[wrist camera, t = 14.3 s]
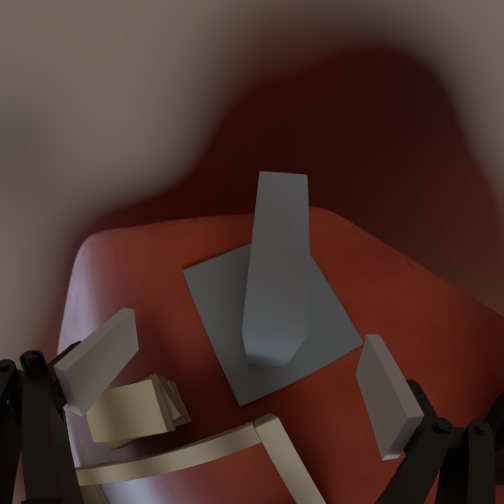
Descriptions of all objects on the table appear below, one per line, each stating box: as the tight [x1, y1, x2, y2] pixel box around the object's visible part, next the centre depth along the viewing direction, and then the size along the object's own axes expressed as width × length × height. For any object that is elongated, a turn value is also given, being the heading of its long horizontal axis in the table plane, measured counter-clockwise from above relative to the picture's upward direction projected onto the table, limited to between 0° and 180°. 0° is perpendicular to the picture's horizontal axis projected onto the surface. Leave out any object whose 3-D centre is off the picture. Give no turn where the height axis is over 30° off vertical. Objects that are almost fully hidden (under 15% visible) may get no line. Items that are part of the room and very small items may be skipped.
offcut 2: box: [106, 373, 187, 450], centre depth 21 cm, size 8×4×2 cm, turn 125°
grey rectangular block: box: [242, 171, 310, 367], centre depth 23 cm, size 4×12×13 cm, turn 175°
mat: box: [182, 243, 363, 406], centre depth 29 cm, size 14×16×1 cm
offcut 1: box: [86, 379, 176, 443], centre depth 19 cm, size 7×4×2 cm, turn 110°
